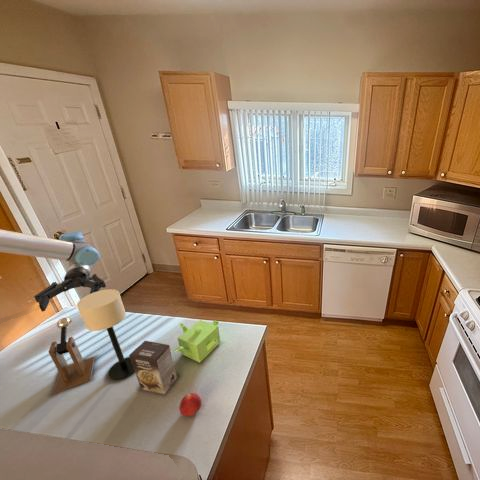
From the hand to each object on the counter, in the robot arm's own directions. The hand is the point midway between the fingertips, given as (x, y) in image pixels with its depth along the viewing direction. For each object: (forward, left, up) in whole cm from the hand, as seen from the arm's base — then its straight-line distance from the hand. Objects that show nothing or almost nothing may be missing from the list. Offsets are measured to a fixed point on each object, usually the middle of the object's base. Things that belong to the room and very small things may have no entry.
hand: (67, 302), depth 92 cm
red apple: (+59, +12, -19) cm, 63 cm away
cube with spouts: (+39, +26, -19) cm, 50 cm away
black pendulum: (+12, -4, -6) cm, 14 cm away
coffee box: (+42, +10, -19) cm, 47 cm away
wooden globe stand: (+17, -6, -19) cm, 26 cm away
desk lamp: (+27, +5, -19) cm, 33 cm away
